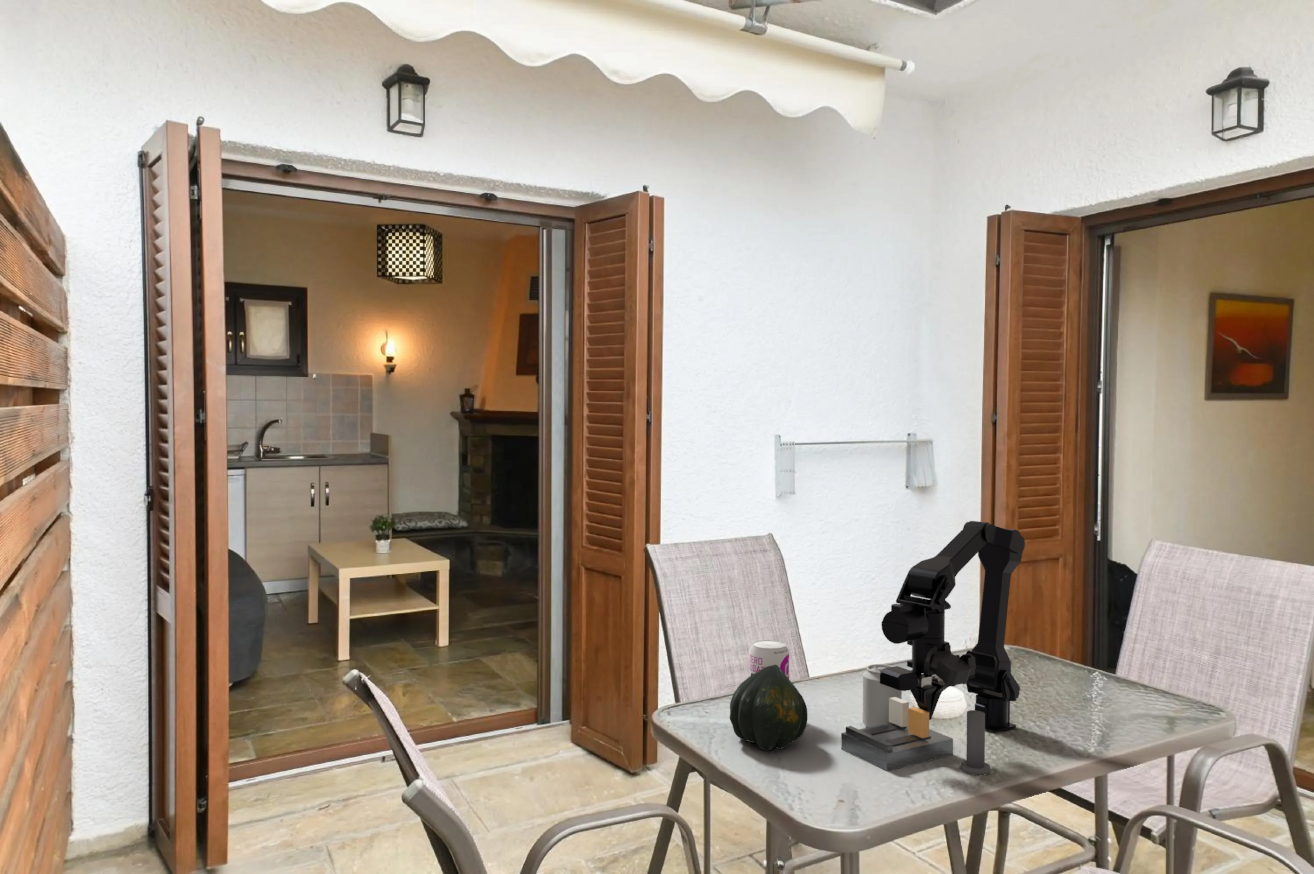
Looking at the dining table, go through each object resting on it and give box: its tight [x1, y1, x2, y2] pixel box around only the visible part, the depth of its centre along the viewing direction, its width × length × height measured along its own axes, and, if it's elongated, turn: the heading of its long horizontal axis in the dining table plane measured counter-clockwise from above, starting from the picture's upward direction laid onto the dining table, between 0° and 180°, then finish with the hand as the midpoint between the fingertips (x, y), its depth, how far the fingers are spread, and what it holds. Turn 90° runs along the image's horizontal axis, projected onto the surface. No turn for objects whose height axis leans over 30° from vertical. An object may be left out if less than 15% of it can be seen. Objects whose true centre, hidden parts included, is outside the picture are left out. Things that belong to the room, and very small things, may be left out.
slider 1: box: [889, 697, 910, 727], centre depth 173 cm, size 2×4×4 cm, turn 29°
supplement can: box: [748, 639, 790, 680], centre depth 187 cm, size 8×8×15 cm
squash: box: [729, 665, 808, 752], centre depth 172 cm, size 14×15×15 cm
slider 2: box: [908, 706, 930, 738], centre depth 167 cm, size 2×4×4 cm, turn 29°
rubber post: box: [959, 709, 992, 776], centre depth 159 cm, size 5×5×10 cm
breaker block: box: [840, 723, 954, 772], centre depth 167 cm, size 16×12×4 cm
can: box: [862, 663, 903, 728], centre depth 181 cm, size 8×8×12 cm
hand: (927, 719), depth 168 cm, fingers closed
